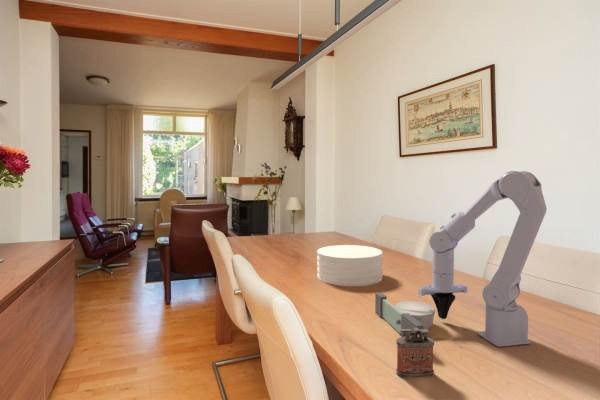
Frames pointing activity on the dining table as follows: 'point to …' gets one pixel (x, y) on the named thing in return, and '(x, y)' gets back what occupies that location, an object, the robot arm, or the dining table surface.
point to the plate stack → (349, 265)
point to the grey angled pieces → (406, 318)
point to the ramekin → (418, 312)
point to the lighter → (414, 354)
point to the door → (391, 314)
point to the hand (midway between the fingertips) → (442, 317)
